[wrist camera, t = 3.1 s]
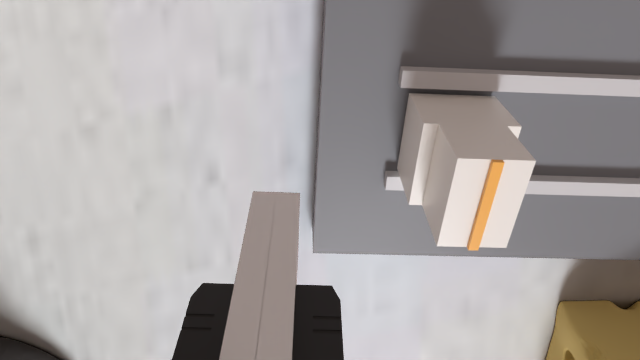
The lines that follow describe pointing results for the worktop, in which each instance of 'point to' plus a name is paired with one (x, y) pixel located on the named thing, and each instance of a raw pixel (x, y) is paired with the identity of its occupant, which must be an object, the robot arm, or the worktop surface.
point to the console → (483, 80)
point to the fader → (464, 168)
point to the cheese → (595, 331)
